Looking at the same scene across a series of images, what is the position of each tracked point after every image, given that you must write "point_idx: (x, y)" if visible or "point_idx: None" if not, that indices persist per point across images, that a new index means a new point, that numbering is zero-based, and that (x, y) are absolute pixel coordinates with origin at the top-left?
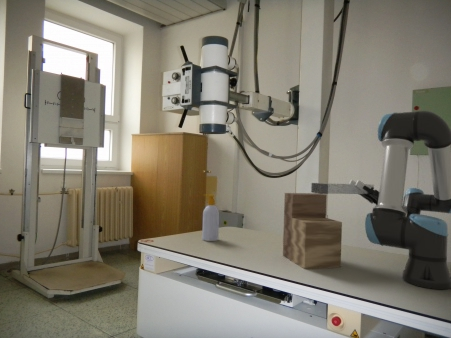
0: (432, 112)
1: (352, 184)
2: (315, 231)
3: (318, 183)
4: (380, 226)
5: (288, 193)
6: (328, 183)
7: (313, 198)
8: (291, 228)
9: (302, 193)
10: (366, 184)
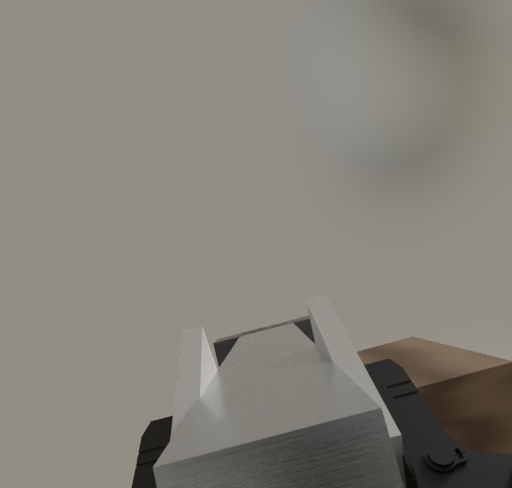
0: None
1: (221, 366)
2: None
3: (256, 329)
4: None
5: (385, 344)
6: (291, 327)
7: None
8: None
9: (422, 352)
10: (233, 405)
